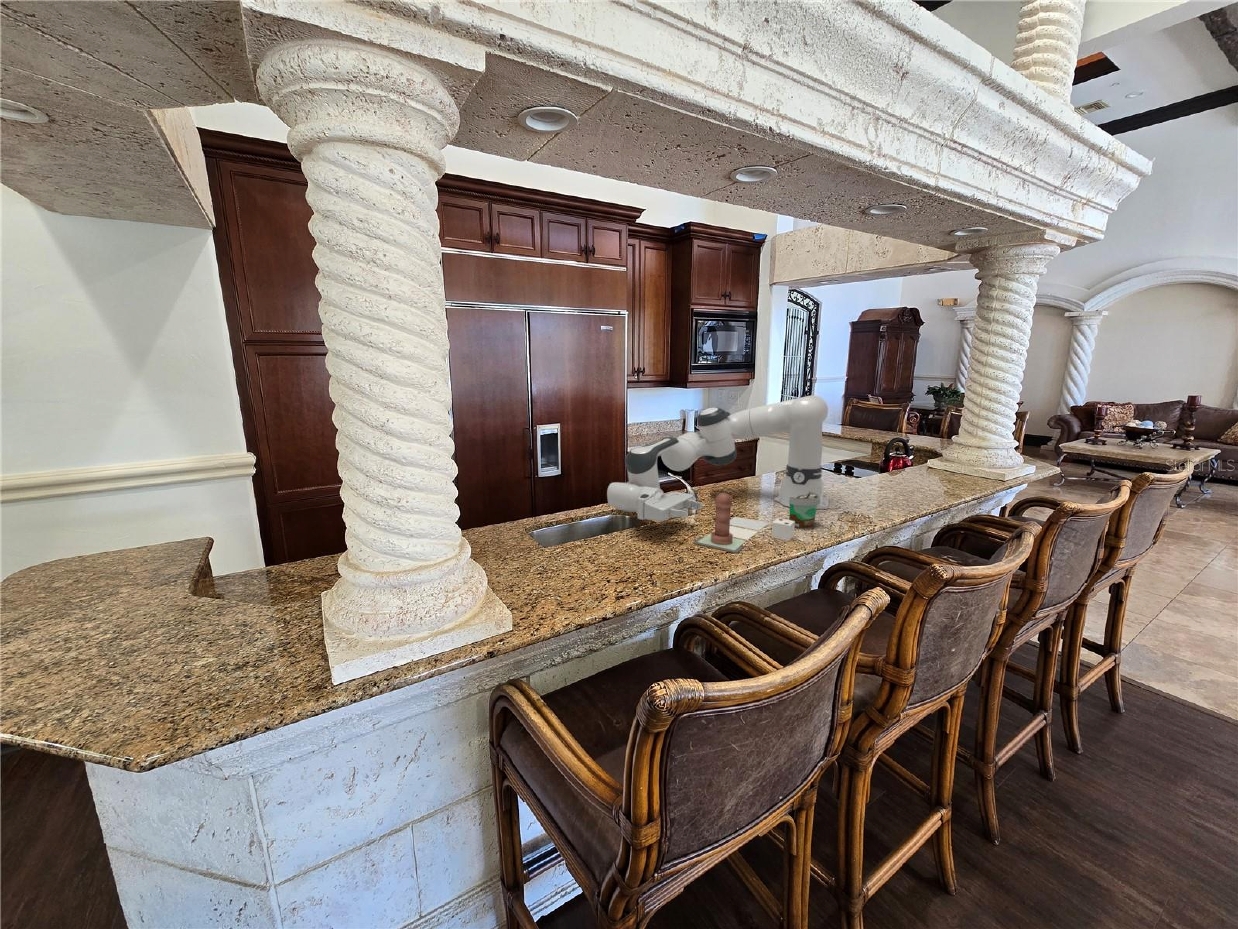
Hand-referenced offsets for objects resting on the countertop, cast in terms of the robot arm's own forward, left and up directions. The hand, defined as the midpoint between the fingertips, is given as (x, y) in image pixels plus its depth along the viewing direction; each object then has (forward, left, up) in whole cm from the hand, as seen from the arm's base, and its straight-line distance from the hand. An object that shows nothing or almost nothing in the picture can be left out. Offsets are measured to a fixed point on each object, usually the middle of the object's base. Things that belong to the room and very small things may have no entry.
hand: (694, 510), depth 144 cm
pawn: (-1, +9, -8) cm, 12 cm away
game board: (-11, +9, -8) cm, 16 cm away
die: (-15, +22, -8) cm, 27 cm away
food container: (-30, +25, -8) cm, 39 cm away
